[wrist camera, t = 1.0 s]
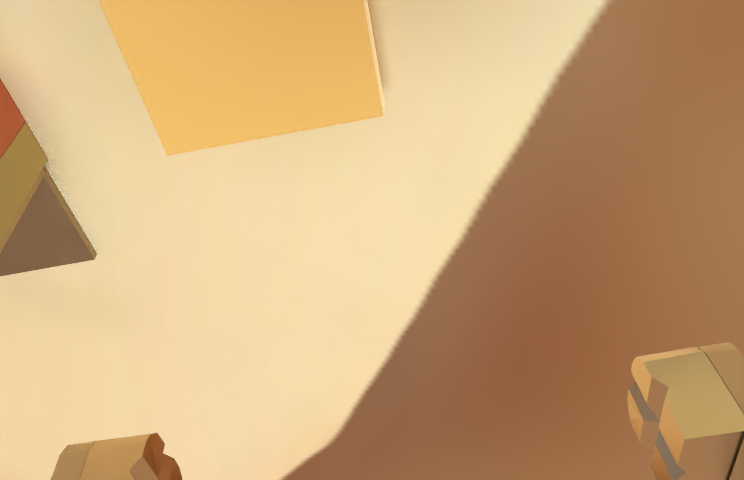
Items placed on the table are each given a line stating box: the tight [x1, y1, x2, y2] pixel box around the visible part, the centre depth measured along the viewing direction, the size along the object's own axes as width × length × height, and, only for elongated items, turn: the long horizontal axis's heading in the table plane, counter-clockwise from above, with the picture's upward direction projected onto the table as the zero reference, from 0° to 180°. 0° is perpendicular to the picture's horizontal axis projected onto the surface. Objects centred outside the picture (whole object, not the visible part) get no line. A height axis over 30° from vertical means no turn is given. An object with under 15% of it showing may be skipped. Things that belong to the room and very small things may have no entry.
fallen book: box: [99, 0, 386, 155], centre depth 38 cm, size 11×14×4 cm
